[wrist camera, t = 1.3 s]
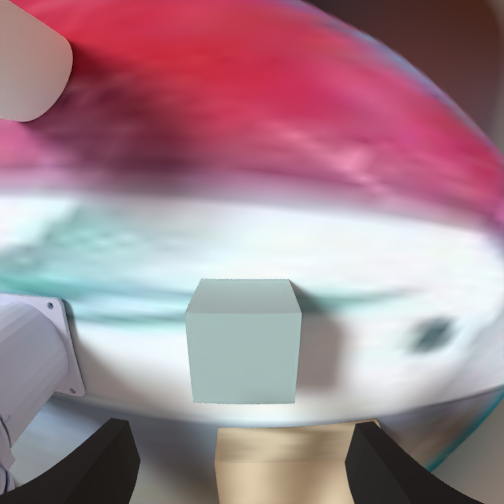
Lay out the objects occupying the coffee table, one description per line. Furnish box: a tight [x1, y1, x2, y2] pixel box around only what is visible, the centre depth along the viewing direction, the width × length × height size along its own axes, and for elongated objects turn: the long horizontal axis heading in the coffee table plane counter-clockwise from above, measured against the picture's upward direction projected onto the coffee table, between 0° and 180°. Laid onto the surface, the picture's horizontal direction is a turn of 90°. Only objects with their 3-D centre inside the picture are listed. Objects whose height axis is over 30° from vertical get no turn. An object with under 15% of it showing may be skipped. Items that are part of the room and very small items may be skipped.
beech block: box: [214, 419, 381, 504], centre depth 21 cm, size 12×12×4 cm
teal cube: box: [185, 279, 302, 404], centre depth 16 cm, size 5×5×5 cm
